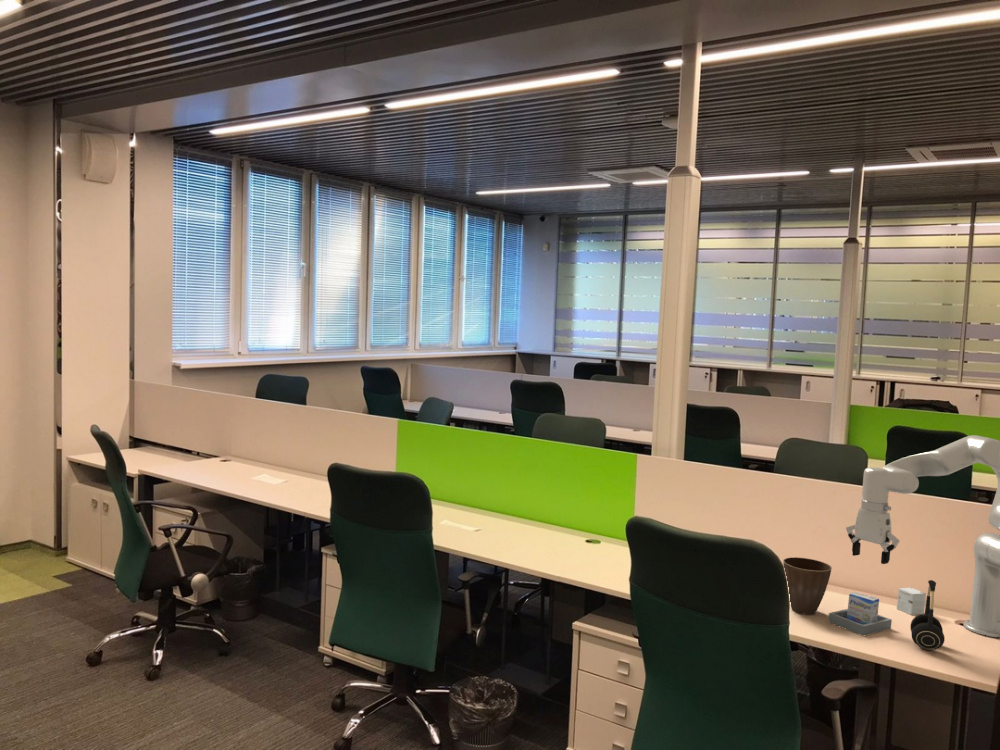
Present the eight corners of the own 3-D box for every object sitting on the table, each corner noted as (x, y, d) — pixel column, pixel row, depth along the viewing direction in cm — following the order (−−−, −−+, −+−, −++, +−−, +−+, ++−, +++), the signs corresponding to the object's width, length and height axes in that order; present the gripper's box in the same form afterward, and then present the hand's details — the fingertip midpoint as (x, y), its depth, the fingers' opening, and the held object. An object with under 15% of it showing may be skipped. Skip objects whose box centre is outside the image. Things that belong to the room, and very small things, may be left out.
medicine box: (846, 619, 246) (848, 593, 245) (852, 617, 249) (854, 591, 248) (871, 627, 240) (874, 600, 239) (877, 625, 243) (879, 598, 242)
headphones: (940, 641, 234) (946, 577, 233) (944, 658, 221) (951, 590, 220) (908, 635, 238) (914, 572, 237) (910, 651, 225) (917, 584, 224)
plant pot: (802, 621, 244) (806, 572, 243) (769, 604, 258) (773, 558, 257) (837, 617, 250) (841, 569, 249) (803, 601, 263) (807, 556, 263)
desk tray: (890, 628, 242) (891, 619, 242) (863, 635, 234) (863, 626, 234) (855, 615, 253) (856, 606, 252) (828, 622, 245) (829, 612, 244)
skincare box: (896, 608, 263) (898, 588, 262) (909, 607, 265) (911, 587, 264) (911, 615, 257) (913, 594, 257) (924, 614, 259) (926, 592, 259)
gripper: (907, 511, 238) (903, 565, 239) (855, 500, 253) (851, 550, 254) (894, 513, 234) (889, 568, 235) (842, 501, 249) (838, 553, 250)
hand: (870, 559), depth 244 cm, fingers open, 9 cm apart
